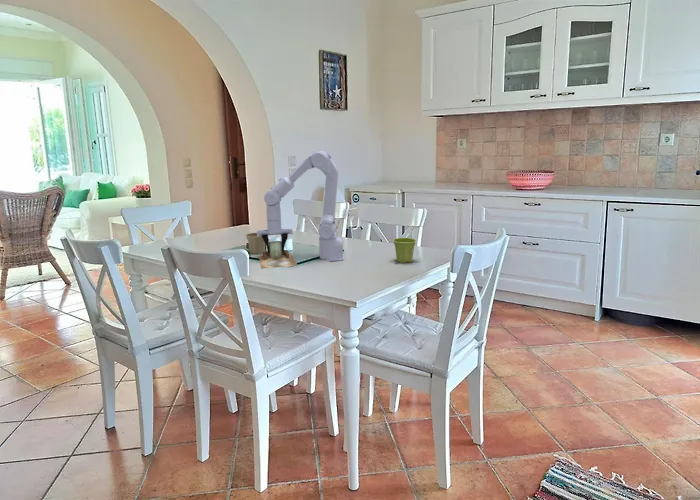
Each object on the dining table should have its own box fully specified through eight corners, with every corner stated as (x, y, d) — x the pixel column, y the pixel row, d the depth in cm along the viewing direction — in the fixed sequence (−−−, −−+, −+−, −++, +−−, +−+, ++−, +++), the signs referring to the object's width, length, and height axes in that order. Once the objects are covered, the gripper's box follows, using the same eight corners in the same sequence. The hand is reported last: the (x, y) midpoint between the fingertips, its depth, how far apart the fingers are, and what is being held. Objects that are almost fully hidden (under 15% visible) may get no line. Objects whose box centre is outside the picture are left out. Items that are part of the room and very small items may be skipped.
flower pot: (272, 254, 224) (271, 234, 223) (252, 257, 219) (250, 237, 217) (263, 250, 232) (261, 231, 230) (243, 253, 227) (242, 234, 225)
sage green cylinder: (281, 255, 219) (280, 240, 217) (283, 259, 211) (282, 244, 210) (269, 256, 217) (268, 241, 216) (270, 260, 210) (269, 245, 209)
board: (291, 255, 222) (291, 249, 221) (297, 267, 201) (297, 261, 200) (258, 257, 219) (258, 251, 218) (261, 270, 198) (260, 263, 198)
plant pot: (419, 259, 210) (419, 238, 208) (412, 264, 202) (412, 243, 200) (397, 257, 214) (397, 237, 212) (389, 262, 206) (389, 241, 204)
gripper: (290, 217, 217) (292, 248, 220) (255, 219, 214) (257, 251, 217) (292, 219, 211) (293, 252, 214) (256, 221, 208) (258, 254, 211)
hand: (275, 251), depth 215 cm, fingers closed on sage green cylinder, 5 cm apart
